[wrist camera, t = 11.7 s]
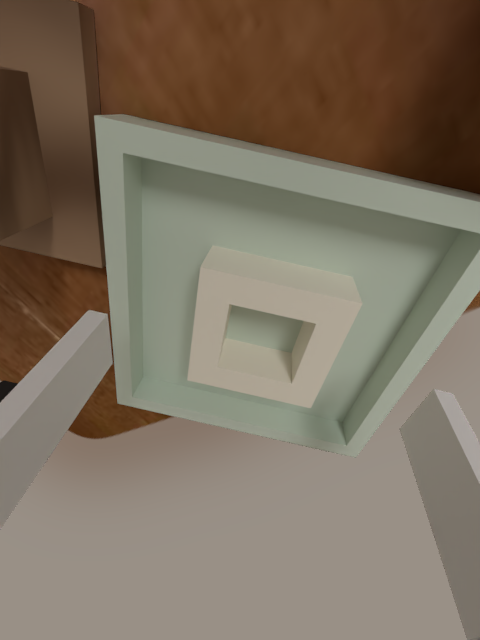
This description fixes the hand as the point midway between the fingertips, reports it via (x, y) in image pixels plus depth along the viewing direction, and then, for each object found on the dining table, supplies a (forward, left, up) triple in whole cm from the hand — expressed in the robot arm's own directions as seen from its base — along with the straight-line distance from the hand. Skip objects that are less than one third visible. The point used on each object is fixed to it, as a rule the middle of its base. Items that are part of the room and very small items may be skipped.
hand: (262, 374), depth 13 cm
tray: (0, 0, -5) cm, 6 cm away
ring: (+1, 0, -5) cm, 5 cm away
